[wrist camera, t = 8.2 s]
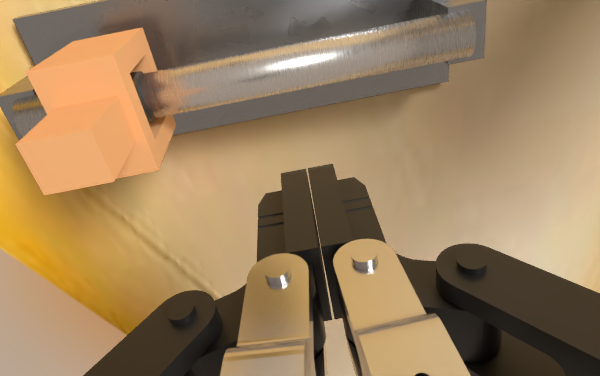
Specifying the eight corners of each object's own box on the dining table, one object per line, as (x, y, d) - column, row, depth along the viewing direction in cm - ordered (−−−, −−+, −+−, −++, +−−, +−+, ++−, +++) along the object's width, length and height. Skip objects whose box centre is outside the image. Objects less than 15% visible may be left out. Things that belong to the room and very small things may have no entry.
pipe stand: (444, -69, 26) (503, -66, 20) (444, 77, 31) (492, 117, 25) (18, 16, 27) (-54, 46, 20) (82, 148, 31) (39, 205, 25)
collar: (142, 27, 25) (83, 82, 16) (176, 124, 28) (141, 214, 19) (73, 41, 25) (-23, 103, 16) (114, 137, 28) (52, 231, 19)
